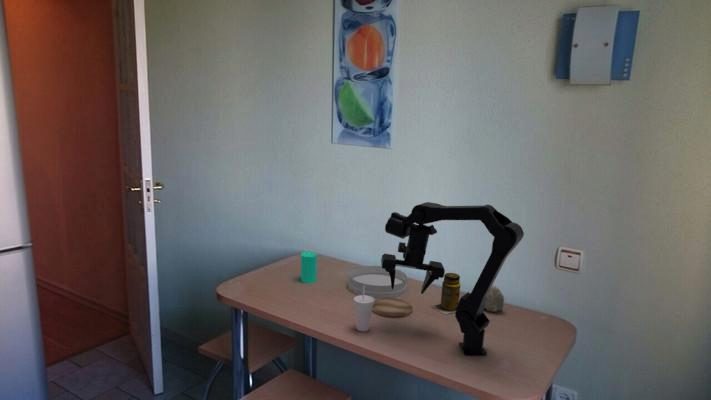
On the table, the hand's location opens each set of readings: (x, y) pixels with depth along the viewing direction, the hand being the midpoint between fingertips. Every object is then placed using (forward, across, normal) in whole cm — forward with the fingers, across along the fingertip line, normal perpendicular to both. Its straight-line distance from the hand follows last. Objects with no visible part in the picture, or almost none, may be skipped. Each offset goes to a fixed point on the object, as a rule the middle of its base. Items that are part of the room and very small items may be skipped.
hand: (407, 290), depth 152 cm
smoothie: (+14, +11, +2) cm, 18 cm away
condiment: (+12, -18, -16) cm, 27 cm away
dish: (+16, +5, -33) cm, 37 cm away
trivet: (+14, +1, -13) cm, 19 cm away
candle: (+20, +31, -37) cm, 52 cm away
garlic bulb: (+10, -33, -16) cm, 38 cm away
